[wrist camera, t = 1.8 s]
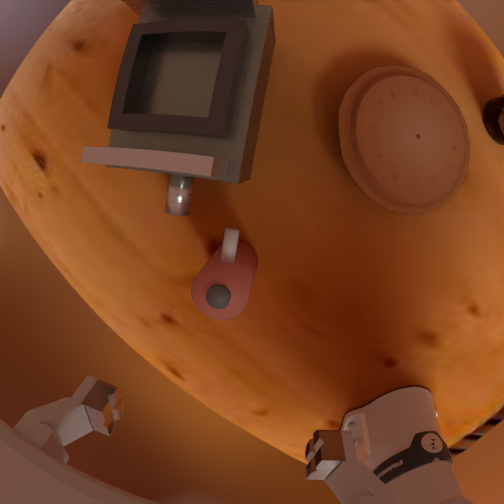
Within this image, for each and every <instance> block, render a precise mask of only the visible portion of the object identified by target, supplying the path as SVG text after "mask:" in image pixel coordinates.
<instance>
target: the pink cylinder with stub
mask: <svg viewBox="0 0 504 504" xmlns="http://www.w3.org/2000/svg"><path fill="white" fill-rule="evenodd" d="M238 237H239V230H238V229H235V228H225V233H224V240H223V243H222V244H221V245H220V246H219V247H218V249H217V250H216V251H215V253H214V254H213V255H212V257H211V258H210V259H209V261H208V262H207V263H206V265H205V266H204V267H203V268H202V270H201V271H200V272H199V274H198V275H197V276H196V278H195V279H194V281H193V284H192V288H191V294H192V299H193V301H194V303H195V305H196V307H197V308H198V309H199V310H200V311H201V312H202V313H203V314H205V315H206V316H208V317H210V318H213V319H216V320H229V319H232V318H235V317H237V316H238V315H240V314H241V313H242V312H243V311H244V309H245V308H246V305H247V302H248V298H249V295H250V291H251V287H252V283H253V279H254V275H255V271H256V268H257V263H258V258H257V254H256V252H255V250H254V248H253V247H252V246H251V245H250V244H249V243H247V242H245V241H243V240H239V239H238Z"/></svg>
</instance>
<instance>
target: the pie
mask: <svg viewBox="0 0 504 504" xmlns="http://www.w3.org/2000/svg"><path fill="white" fill-rule="evenodd" d="M338 135H339V142H340V148H341V156H342V159H343V161H344V163H345V165H346V167H347V169H348V171H349V173H350V175H351V177H352V179H353V180H354V181H355V182H356V183H357V185H358V186H359V187H360V188H361V190H362V191H363V192H364V193H365V195H366V196H367V197H368V198H370V199H371V200H373V201H374V202H376V203H377V204H378V205H380V206H381V207H383V208H384V209H386V210H390V211H393V212H397V213H400V214H425V213H427V212H430V211H433V210H435V209H438V208H440V207H442V206H443V205H445V204H446V203H447V202H449V201H450V200H452V199H453V198H454V197H455V195H456V194H457V192H458V190H459V189H460V187H461V185H462V184H463V181H464V178H465V175H466V172H467V168H468V165H469V152H470V142H469V136H468V130H467V125H466V123H465V120H464V118H463V116H462V113H461V111H460V109H459V107H458V105H457V104H456V102H455V101H454V100H453V99H452V97H451V96H450V95H449V94H448V92H447V91H446V90H445V89H444V88H443V87H442V86H441V85H440V84H439V83H438V82H436V81H435V80H434V79H433V78H432V77H431V76H429V75H427V74H425V73H423V72H421V71H419V70H416V69H414V68H412V67H405V66H399V65H387V66H380V67H374V68H373V69H371V70H369V71H367V72H366V73H364V74H362V75H361V76H359V77H358V78H357V79H356V80H355V81H354V82H353V84H352V85H351V86H350V87H349V88H348V89H347V90H346V91H345V94H344V96H343V99H342V101H341V104H340V107H339V109H338Z"/></svg>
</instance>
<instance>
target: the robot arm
mask: <svg viewBox="0 0 504 504" xmlns="http://www.w3.org/2000/svg"><path fill="white" fill-rule="evenodd" d="M121 394H122V390H121V388H120V387H117V386H114V385H112V384H110V383H107V382H105V381H102V380H100V379H98V378H96V377H93V376H91V375H89V376H88V377H86V379H85V380H84V381H83V383H82V384H81V385H80V387H79V388H78V389H77V391H76V392H75V393H74V395H73V396H72V397H71V398H69V397H67V398H64V399H62V400H59V401H56V402H53V403H50V404H47V405H44V406H41V407H38V408H35V409H32V410H29V411H27V412H26V413H25V415H24V416H23V417H22V419H21V420H20V421H19V422H18V424H17V425H16V426H15V428H14V429H12V428H11V427H10V426H8V425H7V424H6V423H5V422H3V421H2V420H1V419H0V504H159V503H156V502H153V501H149V500H147V499H143V498H141V497H138V496H135V495H132V494H130V493H127V492H125V491H122V490H120V489H117V488H114V487H112V486H110V485H108V484H105V483H103V482H101V481H99V480H97V479H94V478H92V477H90V476H88V475H86V474H84V473H82V472H80V471H78V470H76V469H75V468H73V467H71V466H69V465H67V464H66V462H67V460H68V459H69V456H68V454H67V453H66V451H65V449H64V448H63V446H65V445H67V444H69V443H70V442H72V441H74V440H76V439H78V438H80V437H82V436H83V435H85V434H87V433H89V432H90V431H92V430H93V429H94V430H96V431H98V432H101V433H103V434H105V435H108V436H110V435H111V433H112V431H113V429H114V428H115V426H116V425H115V420H117V419H119V418H120V417H121V415H122V412H123V409H124V401H123V399H122V397H121ZM437 416H438V413H437V410H436V409H435V407H434V403H433V396H432V394H431V393H430V391H428V390H427V389H425V388H421V387H408V388H403V389H399V390H396V391H393V392H390V393H388V394H386V395H383V396H382V397H380V398H378V399H376V400H375V401H373V402H372V403H370V404H368V405H367V406H365V407H362V408H359V409H356V410H353V411H351V412H349V413H347V414H346V415H345V417H344V420H343V424H342V427H341V430H340V431H339V430H316V431H315V432H314V433H313V438H312V439H310V440H309V442H308V443H307V446H306V451H305V459H306V460H307V461H308V462H309V463H308V465H307V466H306V479H316V480H325V481H326V483H327V484H328V486H329V487H330V488H331V490H332V491H333V492H334V494H335V495H336V497H337V498H338V499H339V501H340V502H341V503H342V504H473V503H472V502H471V501H469V500H468V499H466V498H465V497H464V495H463V492H462V491H461V489H460V486H459V484H458V482H457V479H456V477H455V474H454V472H453V469H452V467H451V464H452V458H451V454H450V452H449V450H448V447H447V445H446V443H445V442H444V441H443V437H442V433H441V430H440V426H439V423H438V419H437Z"/></svg>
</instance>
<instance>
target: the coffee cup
mask: <svg viewBox="0 0 504 504" xmlns="http://www.w3.org/2000/svg"><path fill="white" fill-rule="evenodd" d="M483 115H484V122H485V126H486V128H487V131H488V132H489V134H490V136H491V137H492V139H493V140H494V141H495V142H497V143H498V144H501V145H504V95H503V96H502V97H497V98H494V99H491V100H490V101H488V102H487V103H486V105H485V107H484V110H483Z"/></svg>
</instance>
